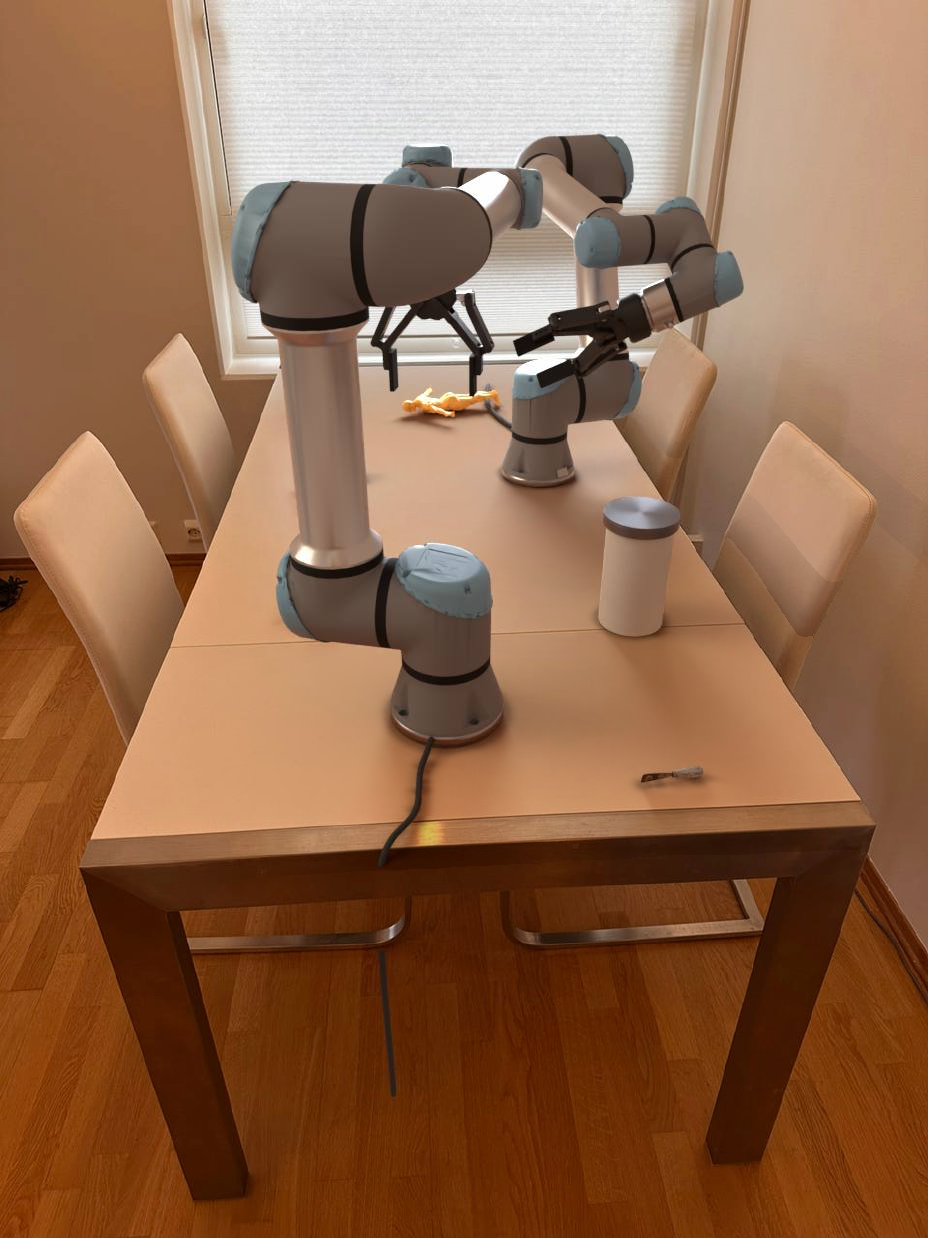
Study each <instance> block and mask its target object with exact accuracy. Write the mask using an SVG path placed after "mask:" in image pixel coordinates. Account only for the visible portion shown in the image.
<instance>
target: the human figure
mask: <svg viewBox="0 0 928 1238" xmlns="http://www.w3.org/2000/svg"><path fill="white" fill-rule="evenodd" d="M424 391H425V392H423V393H422V394H420V395H418V396H416V398H415V399H414V400H404V401H403V402H402V411H404V412H405V413H410V414H412V413H414V412H417V408H418V409H420V410H421V411H423V412H424V413H427V414H439V415H443V416H444V417H449V416H450V417H451V418H452V417H453V418H454V417H455V416H456V414H455V411H462V410H464V409H467V408H469V407H471V406H473V405H476V404H478V403H481V402H484V401H485V400H488V399H489V400H493V402H494V403H495V404H496V405H497V406H500V398H499V393H498V392H497V391H496V390H495V389H493V390H491V391H489V392H486V391H478V390H477V392H476V394H475V395H474V397H469V393H468V394H460V393H457V394H455V393H453V392H446V393H444V394H443V395H442V396H441V397H440V398H434V397H429V396H430V395H432V394H433V392H434V391H433V389H432V385H429V387H428V389H424ZM450 410H452V411H450Z"/></svg>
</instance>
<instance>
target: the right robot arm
mask: <svg viewBox="0 0 928 1238" xmlns="http://www.w3.org/2000/svg"><path fill="white" fill-rule="evenodd" d="M515 167H521V168H523V169H536V170H538V171H539V172H540V173H541V175H542V179H543V207H542V213H544V214H545V216H547V217H548V218H549V219H550V220H551V221H552V222H554V223H555V224H556V225H557V226H558V227H559V228H560V229H562V230H563V231H564V232H565V233H566V234H567V235H568V236H569V237H571V238H572V244H573V247H572V248H573V262H574V277H575V279H574V280H575V281H574V282H575V299H576V308H570V309H565V310H561V311H555V312H551V313H550V314H549V316H548V317H547V322H548V323H547V324H546V325H543V326H541V327H540V328H538V329H535V330H533V331H531V332H529V333H527V334H524V335H523V336H520V337H518V338H515V339H513V340H512V343H513V347H514V350H515V353H516V356H517V357H518V358H519V357H522V356H523V355H527V354H528V353H530V352H532V351H535V350H537V349H540V348H541V347H544V346H546V345H548V344H550V343H553V342H555V341H556V339H555V337H558V338H559V337H577V336H578V347H577V348H578V349H577V350H576V352H575V353H574V354H573V355H572V357H571V358H572V359H571V358H568V359H567V360H566V359H565V358H564V359H563V358H558V357H554V358H550V357H546V358H539V359H535V360H531V361H529V362H526V363H524V364H522V365H521V366H519V368H517V369H516V371H515V372H514V374H513V381H512V389H511V422H509V421H508V420H506V419H505V418H504V417H503V416H501V415H500V414H499V413H497V411H496V410H495V409H494V408H493V407H492V405H491V401H490V399H488V400H485V405H486V407H487V409H488V411H490V413H491V414H492V415H493V416H494V417H495V418H496V419H498V420H499V422H501V423H503V424H504V425H505V426H507V427H508V428H510V429H511V439H510V441H509V444H508V447H507V450H506V452H505V455H504V458H503V461H502V465H501V467H502V468H501V473H502V476H503V477H504V478H505V479H506V480H508V481H509V482H510V483H513V484H516V485H519V486H524V487H531V488H532V487H533V488H549V487H556V486H560V485H563V484H565V483H567V482H569V481H570V480H572V479H573V477H574V475H575V474H574V473H575V465H574V460H573V456H572V453H571V450H570V445H569V442H568V429H569V425H576V424H584V423H593V422H594V423H595V422H601V421H602V422H603V421H614V420H617V419H622V418H623V419H624V418H625V417H629V416H630V415H631V414H632V413H633V412H634V410H635V409H636V407H637V405H638V403H639V402H640V398H641V394H642V386H643V378H642V377H643V376H642V372H641V370H640V366H639V364H638V363H637V361H636V360H633V359H631V358H630V351H629V350H628V345H627V341H626V340H627V339H629V341H630V343H631V344H636V343H639V342H640V341H644V340H645V339H647V338H650V337H652V335H653V333H652V332H655V333H660V332H661V333H662V332H663V331H665V330H667V329H669V330H671V329H673V328H674V327H675V326H676V325H678V324H682V323H683V322H685V321H687V320H689V319H692V318H695V317H697V316H700V315H701V314H704V313H707V312H709V311H711V310H714V309H716V308H720V307H722V306H723V305H725V304H727V303H730V302H731V301H733V300H735V299H737V298H738V297H740V296H741V295H742V294H743V292H744V289H745V285H744V280H743V276H742V272H741V270H740V267H739V264H738V261H737V259H736V257H735V255H734V253H733V252H732V251H731V250H724V251H720V252H718V250H716V248H715V246H714V244H713V241H712V237H711V235H710V233H709V230H708V226H707V224H706V219H705V217H704V215H703V214H702V212H701V209H700V208H699V207H698V204H697V203H696V201H695V200H694V199H692V198H691V197H688V196H676V197H674V198H673V199H672V200H670V199H668V200H666V201H664V202H663V203H662V204H661V205H660V206H659V207H658V208H657V209H656V210H655V212H654V213H653V214H652V213H651V214H633V215H624V214H621V213H620V212H621V211H622V210H623V208H624V200H625V199H627V198H628V197H629V195H630V194H631V192H632V190H633V184H632V183H634V178H635V172H634V171H635V170H634V162H633V157H632V154H631V150H630V149H629V147H628V145H627V143H626V142H625V141H624V140H623V139H622V138H621V137H619V135H614V134H602V133H596V134H595V133H594V134H593V133H592V134H576V135H575V134H574V135H547V136H543V137H540V138H537V139H535V140H533V141H531V142H530V143H529V144H527V145H526V146H525V147H524V148H523V149H522V150H521V151H520V152H519V154H518V156H517V157H516V159H515V161H514V164H513V166H512V168H515ZM659 264H667V265H668V268H669V270H670V272H671V275H668V276H667V277H665V278H663V279H661V280H659V281H656V282H654V283H651V284H649V285H646V286H645V287H642V288H641V289H640V293H638V292H632V293H629V294H627V295H625V296H623V297H621V298H620V288H619V284H620V283H619V268H620V267H632V266H645V265H646V266H647V265H659ZM485 386H486V387H485V392H490V388H491V384H490V383H489V382H488V383H486V385H485Z"/></svg>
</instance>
